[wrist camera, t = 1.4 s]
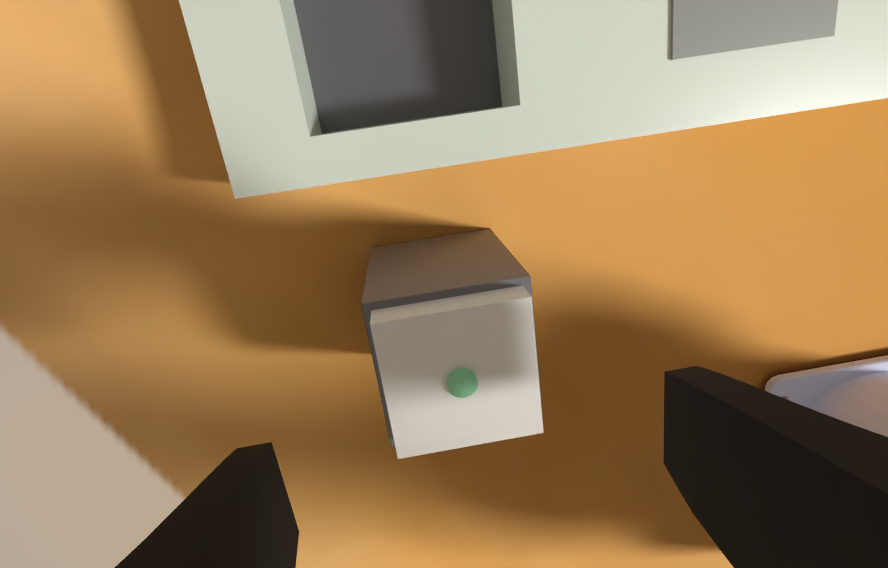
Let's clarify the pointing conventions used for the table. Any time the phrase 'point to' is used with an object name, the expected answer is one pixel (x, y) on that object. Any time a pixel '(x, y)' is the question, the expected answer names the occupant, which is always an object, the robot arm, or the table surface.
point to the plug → (452, 342)
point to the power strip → (507, 76)
